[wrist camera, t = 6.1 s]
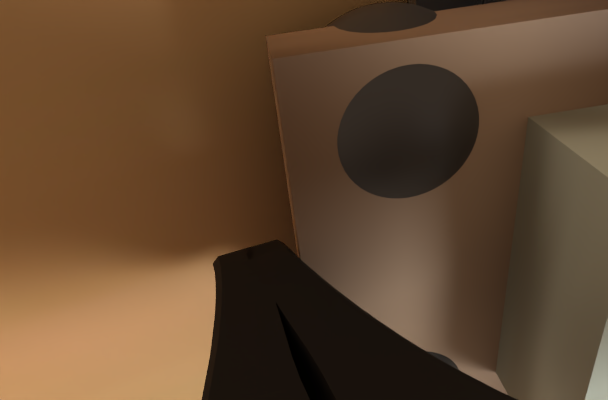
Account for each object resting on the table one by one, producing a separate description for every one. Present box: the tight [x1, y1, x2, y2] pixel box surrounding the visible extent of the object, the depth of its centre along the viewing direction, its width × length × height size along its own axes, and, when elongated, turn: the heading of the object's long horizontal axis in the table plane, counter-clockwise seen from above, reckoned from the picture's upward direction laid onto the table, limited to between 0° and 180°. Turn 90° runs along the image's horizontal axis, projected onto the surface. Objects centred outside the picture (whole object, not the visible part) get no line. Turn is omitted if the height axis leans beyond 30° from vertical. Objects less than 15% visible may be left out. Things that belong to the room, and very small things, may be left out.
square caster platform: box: [266, 0, 608, 400], centre depth 9 cm, size 10×9×5 cm
